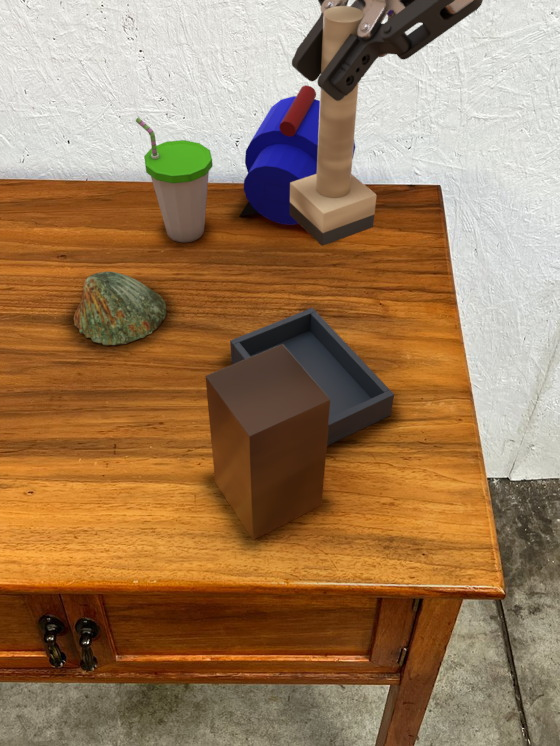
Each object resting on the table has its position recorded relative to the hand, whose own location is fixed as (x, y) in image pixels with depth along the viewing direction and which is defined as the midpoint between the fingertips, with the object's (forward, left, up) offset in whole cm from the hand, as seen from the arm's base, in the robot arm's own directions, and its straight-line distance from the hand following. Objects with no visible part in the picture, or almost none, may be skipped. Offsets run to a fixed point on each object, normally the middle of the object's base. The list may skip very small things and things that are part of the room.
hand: (315, 82), depth 52 cm
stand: (-7, +8, -33) cm, 35 cm away
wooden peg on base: (0, -2, -12) cm, 12 cm away
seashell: (+22, +10, -34) cm, 41 cm away
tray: (+2, -2, -33) cm, 33 cm away
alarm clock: (+29, -17, -34) cm, 48 cm away
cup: (+32, -3, -34) cm, 47 cm away
